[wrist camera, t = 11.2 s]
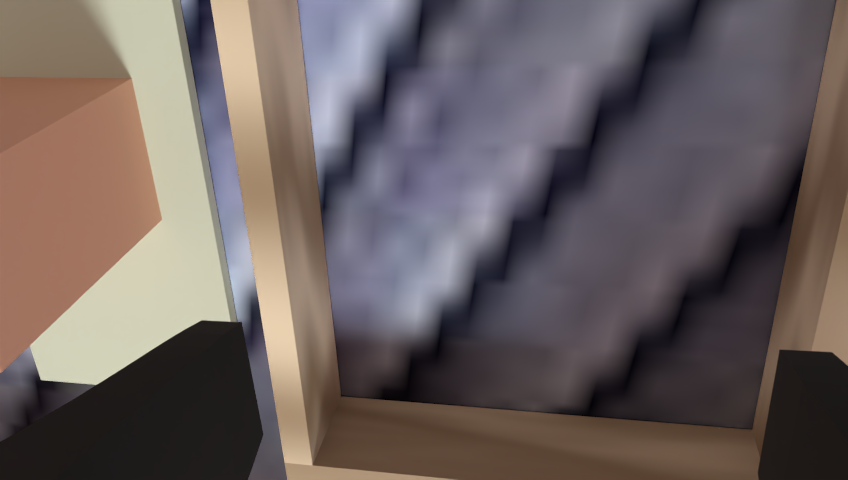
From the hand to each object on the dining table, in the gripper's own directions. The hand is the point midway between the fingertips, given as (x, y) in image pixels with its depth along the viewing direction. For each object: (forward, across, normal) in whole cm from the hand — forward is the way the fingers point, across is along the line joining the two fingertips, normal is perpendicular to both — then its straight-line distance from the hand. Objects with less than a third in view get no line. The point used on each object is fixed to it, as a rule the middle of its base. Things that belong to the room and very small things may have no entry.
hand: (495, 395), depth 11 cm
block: (+10, +12, 0) cm, 15 cm away
